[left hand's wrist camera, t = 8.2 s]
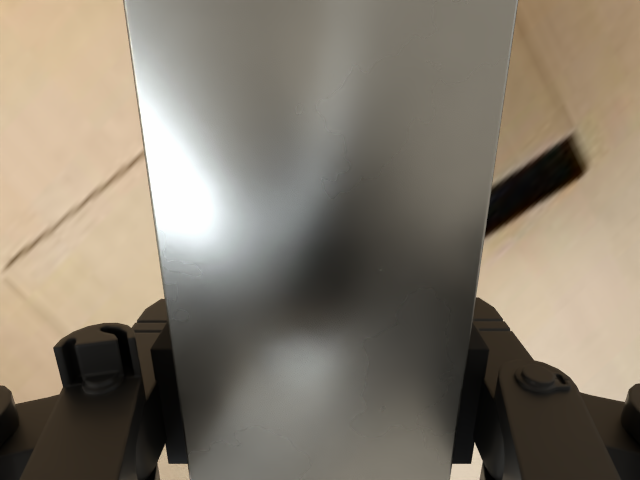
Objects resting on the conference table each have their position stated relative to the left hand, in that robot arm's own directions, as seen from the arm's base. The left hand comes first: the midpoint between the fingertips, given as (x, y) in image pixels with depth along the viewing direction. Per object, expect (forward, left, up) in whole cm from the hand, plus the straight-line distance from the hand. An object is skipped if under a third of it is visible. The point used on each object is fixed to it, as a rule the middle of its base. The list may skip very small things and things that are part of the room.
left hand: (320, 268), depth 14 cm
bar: (+9, 0, -1) cm, 9 cm away
